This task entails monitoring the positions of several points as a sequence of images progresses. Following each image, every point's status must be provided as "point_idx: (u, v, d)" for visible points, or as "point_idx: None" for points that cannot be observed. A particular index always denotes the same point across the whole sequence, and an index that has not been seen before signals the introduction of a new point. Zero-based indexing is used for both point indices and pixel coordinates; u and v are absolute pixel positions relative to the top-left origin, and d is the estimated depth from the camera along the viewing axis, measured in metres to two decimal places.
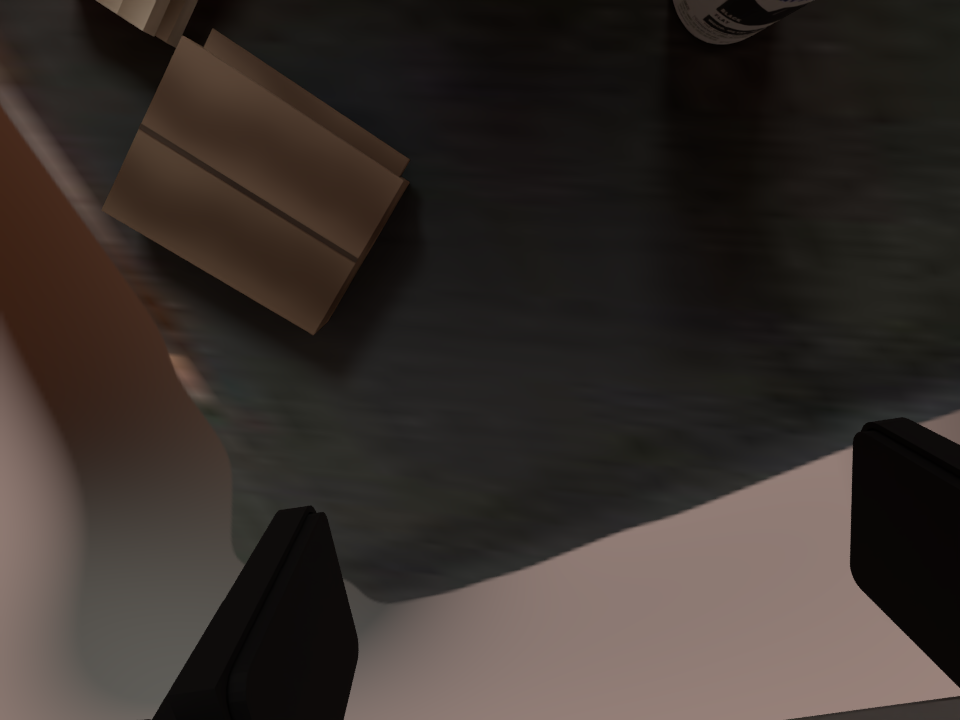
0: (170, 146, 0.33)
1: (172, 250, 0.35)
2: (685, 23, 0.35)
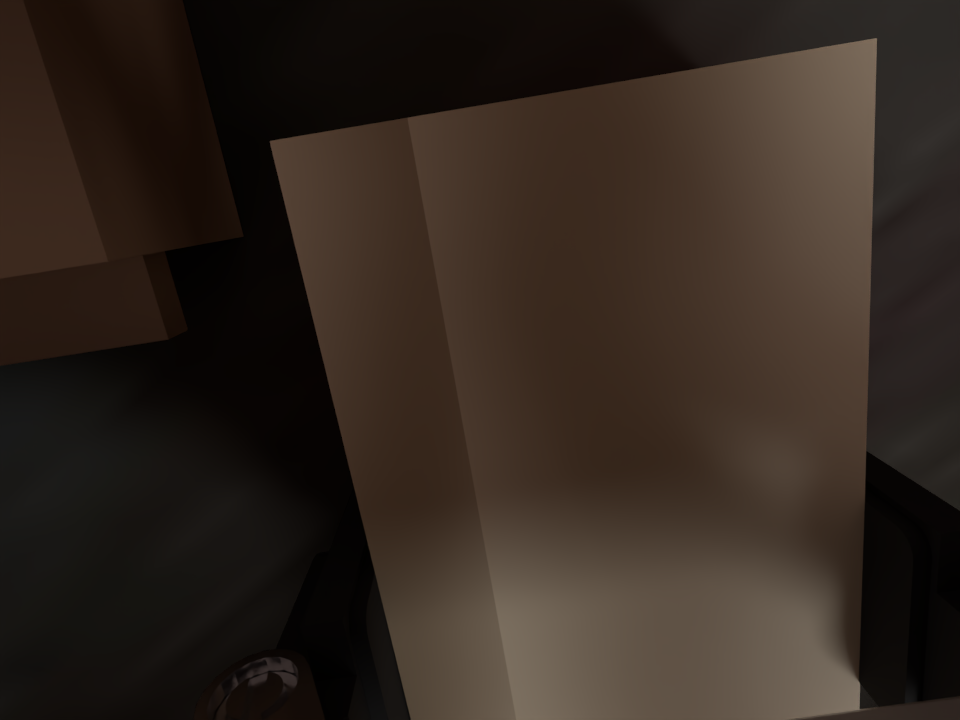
0: None
1: None
2: None
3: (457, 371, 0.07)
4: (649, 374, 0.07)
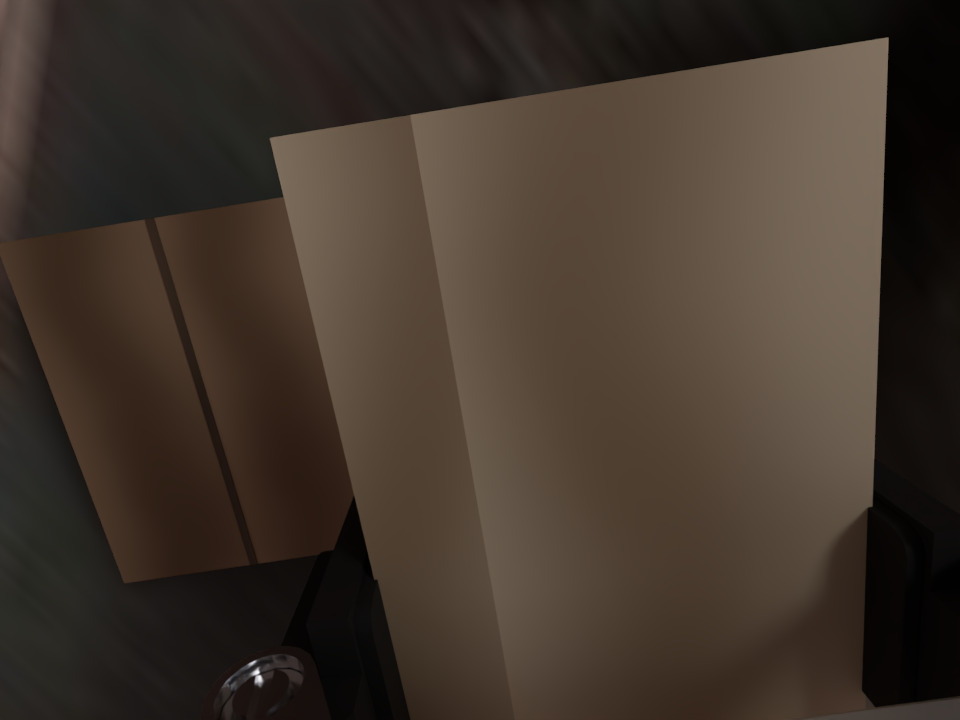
0: (164, 273, 0.21)
1: (43, 364, 0.22)
2: None
3: (459, 373, 0.07)
4: (655, 376, 0.07)
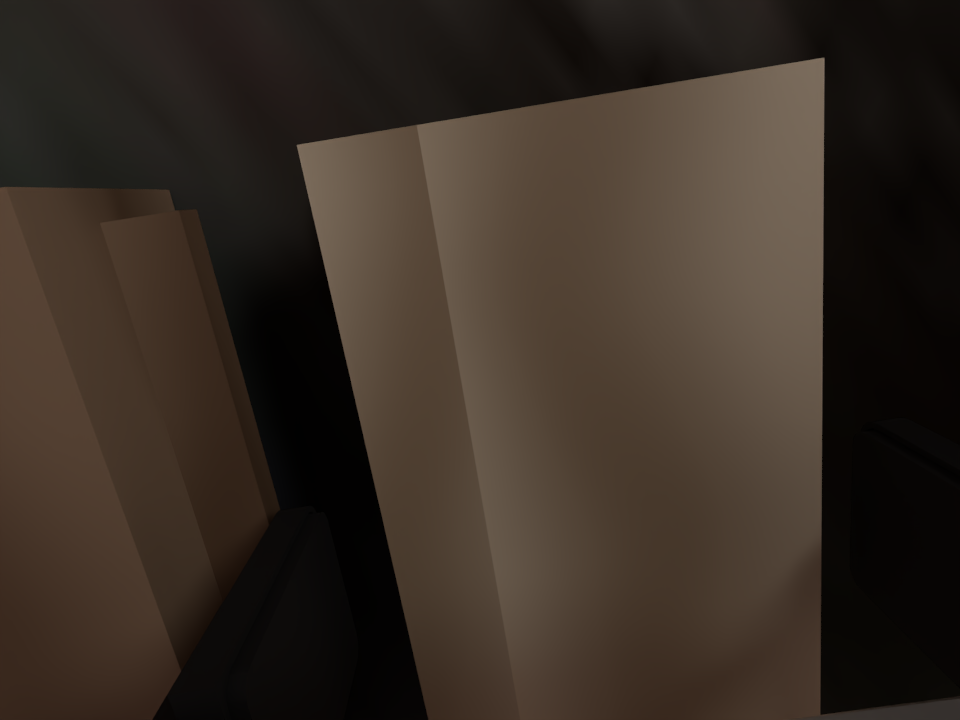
0: None
1: None
2: None
3: (459, 348, 0.08)
4: (629, 351, 0.08)
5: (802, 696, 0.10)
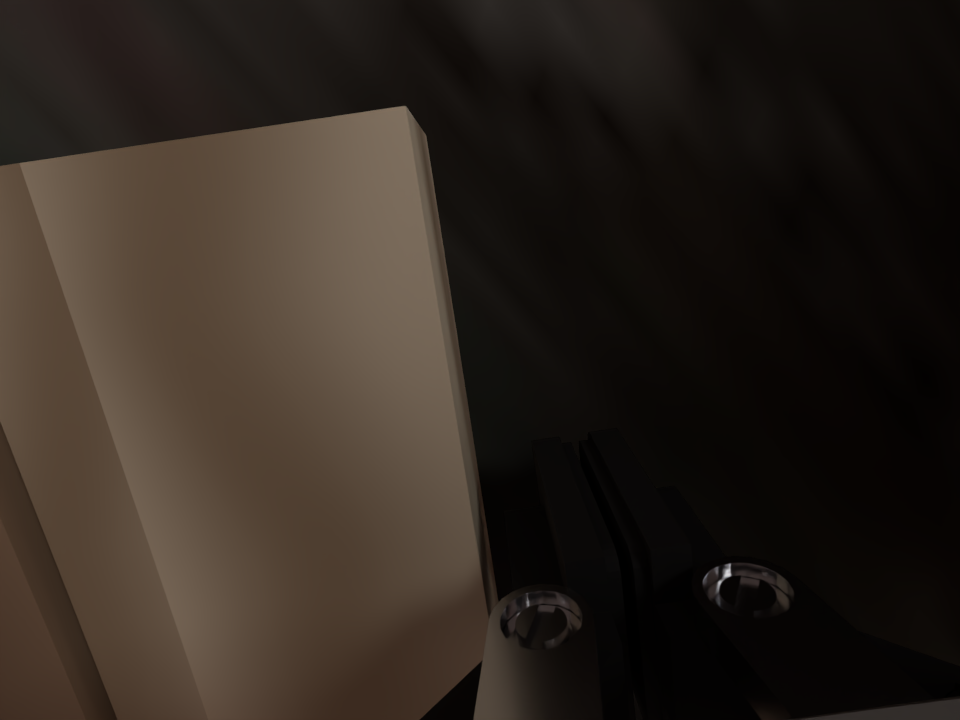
0: None
1: None
2: None
3: (94, 375, 0.08)
4: (261, 379, 0.08)
5: None
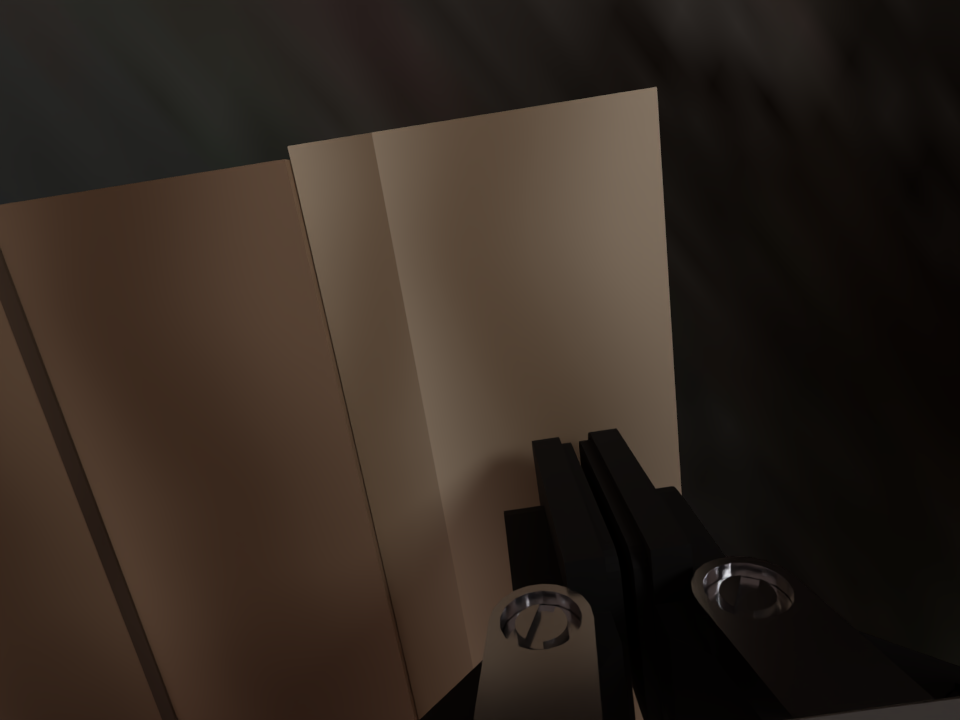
0: (13, 313, 0.11)
1: None
2: None
3: (404, 293, 0.11)
4: (528, 296, 0.11)
5: None
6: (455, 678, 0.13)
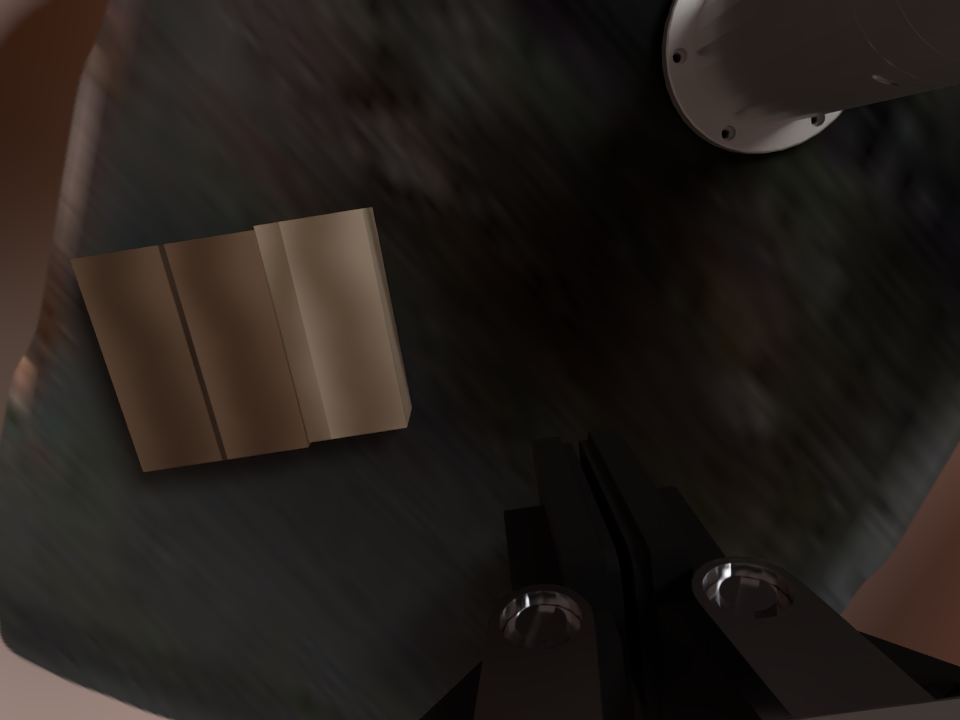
0: (169, 276, 0.35)
1: (96, 331, 0.36)
2: None
3: (291, 270, 0.35)
4: (330, 271, 0.35)
5: (389, 365, 0.37)
6: (317, 410, 0.38)
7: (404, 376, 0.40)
